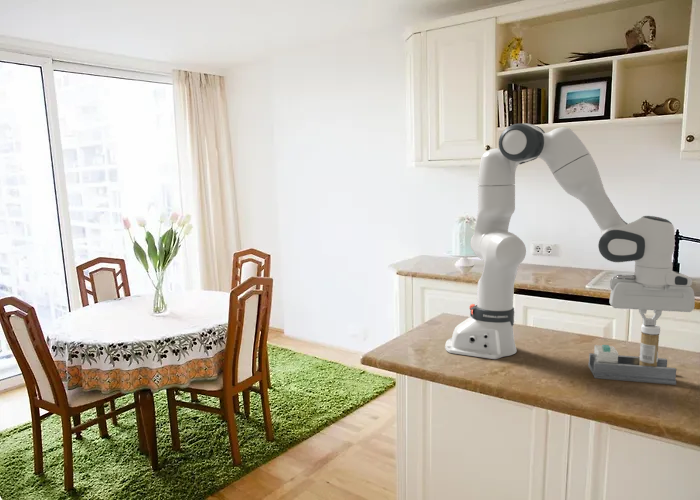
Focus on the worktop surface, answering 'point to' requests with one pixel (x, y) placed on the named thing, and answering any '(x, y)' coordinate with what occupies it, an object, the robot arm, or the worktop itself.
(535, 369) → the worktop surface
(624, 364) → the rail
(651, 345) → the sprinkles bottle
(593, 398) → the worktop surface
